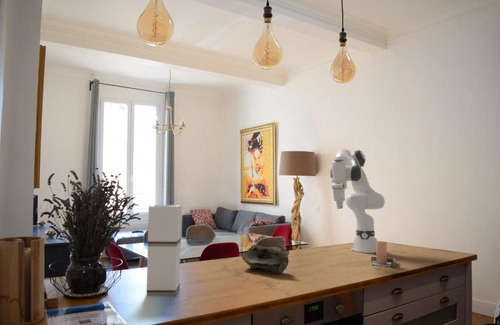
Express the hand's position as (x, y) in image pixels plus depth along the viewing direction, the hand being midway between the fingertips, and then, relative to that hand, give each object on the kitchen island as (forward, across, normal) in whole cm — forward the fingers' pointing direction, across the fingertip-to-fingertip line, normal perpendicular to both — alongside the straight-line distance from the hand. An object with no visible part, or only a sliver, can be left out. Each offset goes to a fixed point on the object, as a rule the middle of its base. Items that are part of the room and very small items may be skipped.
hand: (339, 208), depth 224 cm
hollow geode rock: (+31, +46, -31) cm, 64 cm away
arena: (+31, +3, +23) cm, 39 cm away
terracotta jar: (+30, +4, +23) cm, 38 cm away
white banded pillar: (+32, +97, -58) cm, 118 cm away
